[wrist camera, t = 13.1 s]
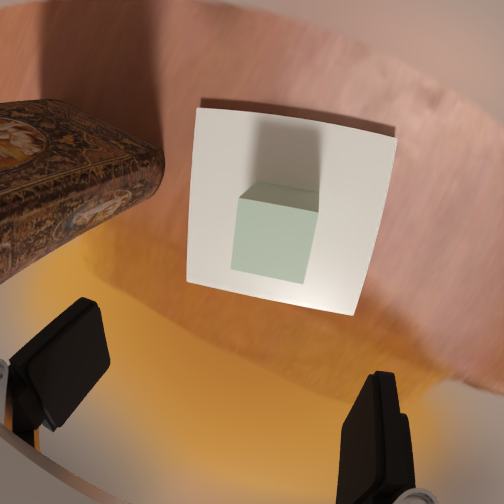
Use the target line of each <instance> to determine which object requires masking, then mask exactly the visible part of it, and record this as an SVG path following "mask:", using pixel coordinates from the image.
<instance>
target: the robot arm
mask: <svg viewBox="0 0 504 504" xmlns="http://www.w3.org/2000/svg"><path fill="white" fill-rule="evenodd" d="M9 361H10V365H9V366H8V365H7V363H6V362H5V361H4V360H2V359H0V504H130V503H128V502H125V501H123V500H121V499H119V498H117V497H115V496H113V495H111V494H109V493H107V492H105V491H103V490H101V489H99V488H97V487H96V486H94V485H92V484H90V483H88V482H87V481H85V480H83V479H81V478H80V477H78V476H76V475H74V474H73V473H71V472H69V471H68V470H66V469H64V468H63V467H61V466H60V465H58V464H56V463H55V462H53V461H52V460H50V459H49V458H47V457H46V456H44V455H43V454H42V453H41V452H40V440H39V426H40V425H41V424H43V425H44V426H45V427H46V428H48V429H50V430H51V431H53V432H54V431H55V430H56V428H57V427H61V426H62V425H63V424H64V423H65V421H66V420H67V419H68V418H69V417H70V415H71V414H72V413H73V411H74V410H75V409H76V408H77V406H78V405H79V404H80V403H81V401H82V400H83V399H84V398H85V396H86V395H87V394H88V393H89V391H90V390H91V389H92V388H93V387H94V385H95V384H96V383H97V382H98V380H99V379H100V378H101V377H102V375H103V374H104V373H105V372H106V370H107V369H108V368H109V366H110V357H109V352H108V348H107V342H106V338H105V333H104V327H103V322H102V316H101V311H100V308H99V307H98V305H97V303H96V302H95V301H92V300H90V299H87V298H84V297H81V298H79V299H78V300H77V301H76V302H74V303H73V304H72V305H71V306H70V307H68V308H67V309H66V310H65V311H64V312H62V313H61V314H60V315H59V316H58V317H57V318H55V319H54V320H53V321H52V322H51V323H49V324H48V325H47V326H46V327H45V328H44V329H43V330H41V331H40V332H39V333H38V334H37V335H36V336H35V337H33V338H32V339H31V340H30V341H29V342H28V343H27V344H26V345H24V347H22V348H21V349H20V350H19V351H18V352H17V353H16V354H15V355H13V356H12V357H11V358H10V359H9ZM336 504H439V502H438V500H437V498H436V496H435V495H434V494H432V492H430V491H428V490H426V489H422V488H416V486H415V473H414V462H413V452H412V443H411V436H410V428H409V421H408V417H407V415H406V414H404V413H400V407H399V400H398V394H397V387H396V381H395V376H394V373H391V372H384V371H376V372H375V373H374V375H373V374H369V375H368V377H367V379H366V381H365V383H364V385H363V387H362V389H361V391H360V393H359V395H358V397H357V399H356V401H355V403H354V405H353V407H352V409H351V411H350V412H349V414H348V416H347V418H346V419H345V421H344V423H343V426H342V430H341V446H340V462H339V475H338V486H337V496H336Z"/></svg>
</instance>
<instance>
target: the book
mask: <svg viewBox="0 0 504 504" xmlns="http://www.w3.org/2000/svg"><path fill="white" fill-rule="evenodd" d="M164 171H165V159H164V155H163V152H162V151H161V149H159V148H157V147H155V146H153V145H151V144H149V143H147V142H145V141H143V140H141V139H139V138H137V137H135V136H133V135H131V134H129V133H127V132H125V131H123V130H121V129H119V128H117V127H115V126H113V125H111V124H109V123H107V122H105V121H103V120H101V119H99V118H96V117H94V116H92V115H90V114H88V113H86V112H84V111H82V110H80V109H77V108H75V107H73V106H71V105H68V104H66V103H64V102H61V101H59V100H53V99H42V100H27V101H16V102H6V103H0V284H2V283H3V282H5V281H6V280H8V279H9V278H11V277H12V276H14V275H15V274H17V273H18V272H20V271H21V270H23V269H24V268H26V267H28V266H29V265H30V264H32V263H34V262H36V261H37V260H39V259H40V258H42V257H44V256H45V255H47V254H48V253H50V252H52V251H54V250H55V249H57V248H58V247H60V246H62V245H64V244H65V243H67V242H69V241H71V240H72V239H74V238H76V237H77V236H79V235H81V234H83V233H85V232H86V231H88V230H90V229H92V228H93V227H95V226H97V225H99V224H101V223H103V222H104V221H106V220H108V219H110V218H112V217H114V216H116V215H118V214H119V213H121V212H123V211H125V210H127V209H129V208H131V207H133V206H135V205H137V204H139V203H141V202H143V201H145V200H147V199H149V198H150V197H152V196H153V195H154V194H155V192H156V191H157V190H158V188H159V186H160V184H161V182H162V179H163V176H164Z"/></svg>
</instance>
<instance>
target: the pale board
mask: <svg viewBox="0 0 504 504" xmlns="http://www.w3.org/2000/svg"><path fill="white" fill-rule="evenodd" d="M397 140H398V139H397V138H394V137H390V136H386V135H382V134H377V133H373V132H369V131H364V130H360V129H355V128H350V127H346V126H341V125H335V124H330V123H325V122H319V121H313V120H307V119H301V118H294V117H287V116H280V115H272V114H264V113H256V112H246V111H236V110H224V109H209V108H197V112H196V122H195V133H194V144H193V157H192V170H191V185H190V202H189V221H188V246H187V282H191V283H195V284H199V285H204V286H208V287H213V288H217V289H222V290H226V291H231V292H235V293H240V294H245V295H249V296H254V297H259V298H264V299H268V300H273V301H278V302H283V303H288V304H293V305H298V306H303V307H309V308H314V309H319V310H325V311H330V312H335V313H341V314H346V315H352V316H353V315H354V312H355V309H356V306H357V302H358V299H359V296H360V293H361V290H362V287H363V283H364V280H365V277H366V273H367V270H368V266H369V263H370V259H371V256H372V252H373V249H374V245H375V241H376V237H377V233H378V230H379V226H380V222H381V217H382V213H383V209H384V205H385V200H386V196H387V191H388V187H389V182H390V177H391V172H392V167H393V162H394V157H395V151H396V146H397ZM257 181H261V182H267V183H272V184H278V185H284V186H289V187H295V188H300V189H305V190H310V191H315V192H319V213H318V218H317V223H316V228H315V233H314V238H313V243H312V247H311V252H310V257H309V261H308V266H307V270H306V275H305V279H304V283H303V284H299V283H294V282H289V281H284V280H280V279H275V278H270V277H265V276H260V275H256V274H251V273H246V272H242V271H237V270H232V269H231V260H232V251H233V242H234V233H235V224H236V215H237V206H238V198H239V197H240V196H241V195H242V194H243V193H244V192H245V191H246V190H248V189H249V188H250V187H251V186H252V185H253V184H254V183H255V182H257Z"/></svg>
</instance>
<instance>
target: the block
mask: <svg viewBox="0 0 504 504" xmlns="http://www.w3.org/2000/svg"><path fill="white" fill-rule="evenodd" d="M318 213H319V192H315V191H310V190H305V189H300V188H295V187H289V186H284V185H278V184H272V183H267V182H261V181H257V182H255V183H254V184H253V185H252V186H251V187H250V188H249V189H248V190H246V191H245V192H244V193H243V194H242V195H241V196H240V197H239V198H238V206H237V215H236V224H235V233H234V242H233V251H232V260H231V269H232V270H237V271H242V272H246V273H251V274H256V275H260V276H265V277H270V278H275V279H280V280H284V281H289V282H294V283H299V284H303V283H304V279H305V275H306V270H307V266H308V261H309V257H310V252H311V247H312V243H313V238H314V233H315V228H316V223H317V218H318Z"/></svg>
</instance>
